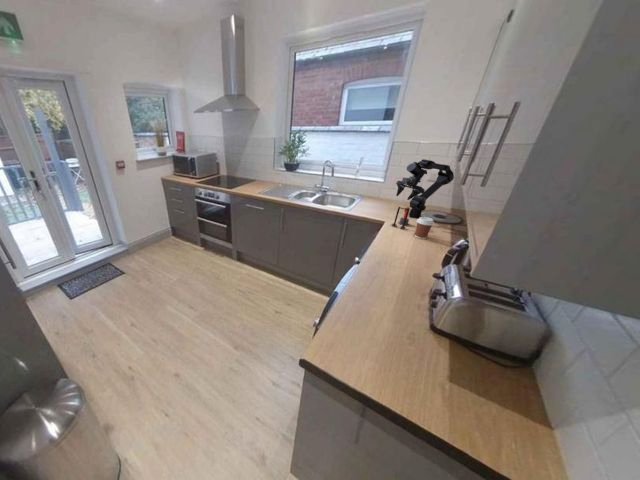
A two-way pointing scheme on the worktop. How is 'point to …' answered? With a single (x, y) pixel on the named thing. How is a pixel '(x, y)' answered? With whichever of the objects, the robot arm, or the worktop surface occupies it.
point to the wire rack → (397, 216)
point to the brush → (404, 218)
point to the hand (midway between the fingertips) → (402, 197)
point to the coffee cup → (423, 227)
